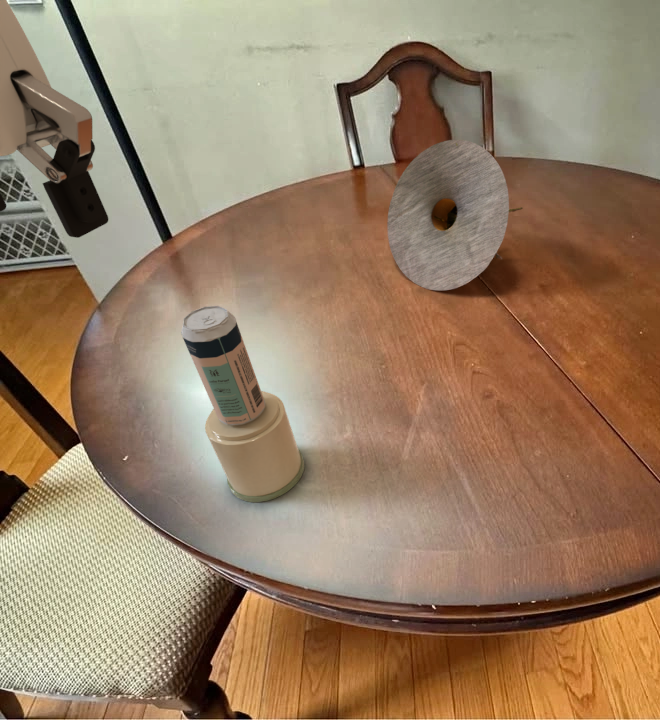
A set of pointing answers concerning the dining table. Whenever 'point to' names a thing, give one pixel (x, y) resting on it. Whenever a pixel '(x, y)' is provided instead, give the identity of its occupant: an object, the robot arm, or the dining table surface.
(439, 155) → the disc
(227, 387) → the beer can
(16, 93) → the robot arm
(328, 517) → the dining table surface
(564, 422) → the dining table surface
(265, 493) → the cup
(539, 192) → the dining table surface
